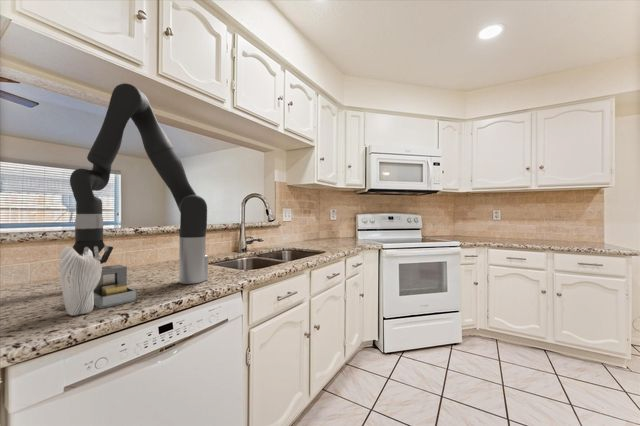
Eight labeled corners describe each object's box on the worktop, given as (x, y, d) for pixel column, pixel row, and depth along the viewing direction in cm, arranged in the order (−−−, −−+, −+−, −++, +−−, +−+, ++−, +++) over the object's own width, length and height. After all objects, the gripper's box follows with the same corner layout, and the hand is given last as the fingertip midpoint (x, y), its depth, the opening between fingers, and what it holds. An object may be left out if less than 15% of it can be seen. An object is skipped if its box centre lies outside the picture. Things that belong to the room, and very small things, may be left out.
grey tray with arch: (120, 292, 91) (120, 264, 91) (137, 300, 83) (137, 269, 83) (85, 299, 84) (85, 268, 84) (100, 308, 76) (100, 274, 76)
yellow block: (121, 283, 85) (126, 285, 83) (121, 296, 85) (126, 299, 83) (101, 287, 81) (106, 289, 79) (101, 300, 81) (106, 303, 79)
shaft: (93, 281, 99) (93, 258, 99) (114, 291, 86) (114, 265, 86) (82, 282, 96) (82, 259, 96) (102, 293, 84) (103, 266, 84)
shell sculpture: (94, 305, 79) (94, 242, 79) (102, 312, 73) (102, 244, 73) (54, 313, 72) (54, 244, 72) (59, 321, 67) (60, 247, 67)
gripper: (109, 226, 104) (109, 272, 104) (59, 227, 93) (59, 279, 93) (117, 226, 100) (117, 274, 100) (65, 228, 89) (65, 282, 89)
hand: (89, 276), depth 96 cm, fingers closed on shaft, 3 cm apart
